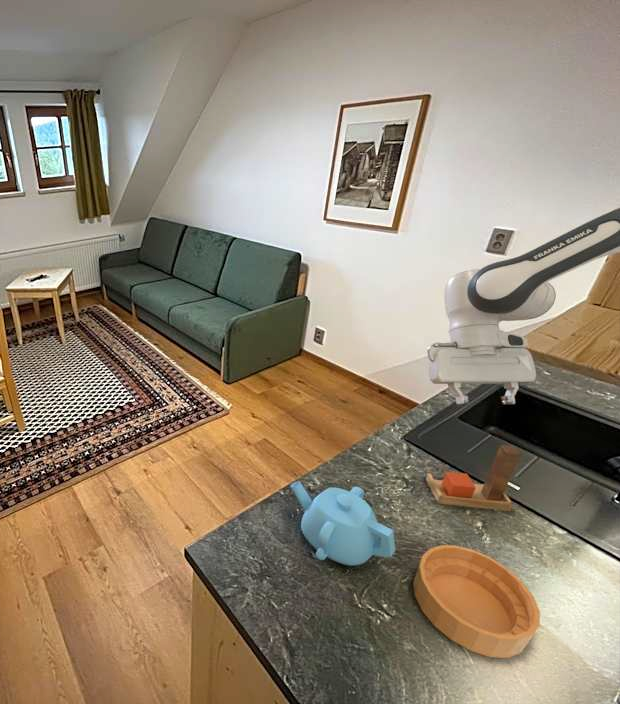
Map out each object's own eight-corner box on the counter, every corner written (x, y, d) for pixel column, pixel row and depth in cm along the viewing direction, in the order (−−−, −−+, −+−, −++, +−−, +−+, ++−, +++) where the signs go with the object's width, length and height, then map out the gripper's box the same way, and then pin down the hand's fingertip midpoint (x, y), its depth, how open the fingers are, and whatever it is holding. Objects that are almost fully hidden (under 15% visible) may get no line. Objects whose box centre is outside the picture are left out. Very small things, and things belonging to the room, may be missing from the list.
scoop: (425, 480, 91) (440, 433, 84) (491, 487, 88) (512, 438, 81) (437, 505, 85) (454, 456, 78) (509, 512, 82) (533, 462, 75)
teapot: (404, 544, 77) (418, 501, 72) (368, 606, 68) (381, 562, 62) (307, 490, 91) (312, 450, 86) (266, 535, 81) (269, 494, 76)
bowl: (463, 556, 74) (472, 536, 72) (553, 643, 61) (567, 622, 59) (392, 576, 72) (398, 557, 69) (469, 672, 59) (480, 652, 56)
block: (441, 484, 89) (445, 471, 87) (461, 486, 88) (466, 473, 86) (448, 499, 85) (453, 485, 83) (470, 501, 84) (475, 487, 82)
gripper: (435, 339, 87) (444, 402, 84) (535, 338, 85) (548, 403, 82) (418, 345, 93) (426, 405, 90) (511, 345, 92) (523, 405, 89)
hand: (485, 404), depth 86 cm, fingers open, 8 cm apart
